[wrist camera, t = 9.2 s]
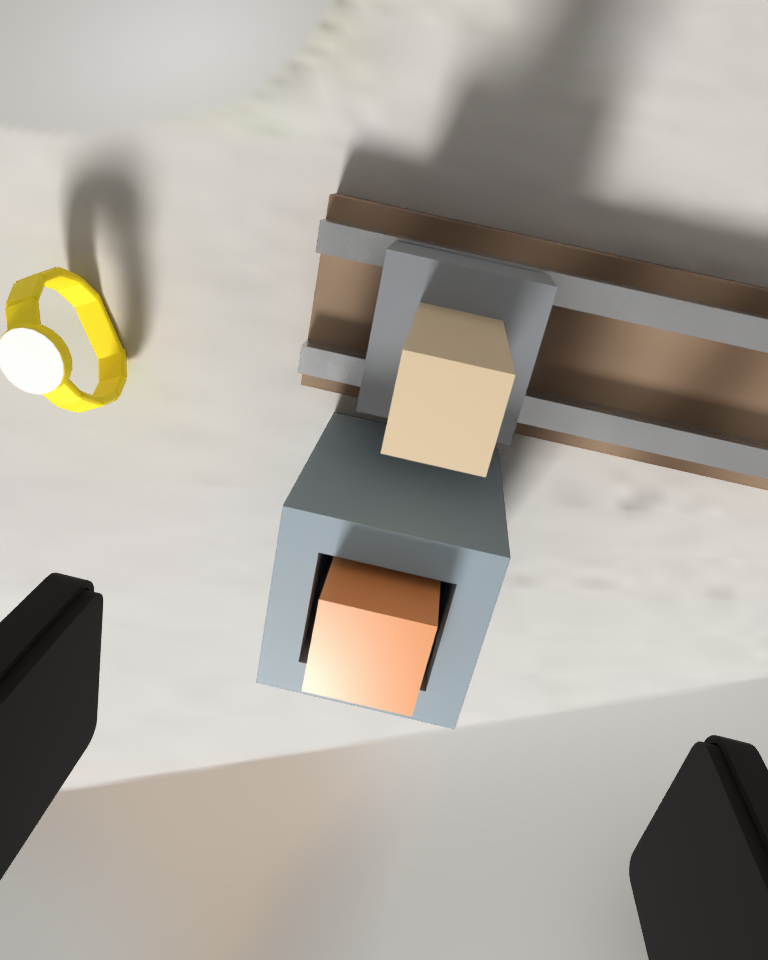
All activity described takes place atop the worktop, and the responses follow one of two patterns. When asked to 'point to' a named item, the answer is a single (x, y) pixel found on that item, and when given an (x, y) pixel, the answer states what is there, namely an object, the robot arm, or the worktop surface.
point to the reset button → (372, 636)
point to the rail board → (577, 341)
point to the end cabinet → (388, 554)
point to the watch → (59, 343)
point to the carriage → (452, 354)
